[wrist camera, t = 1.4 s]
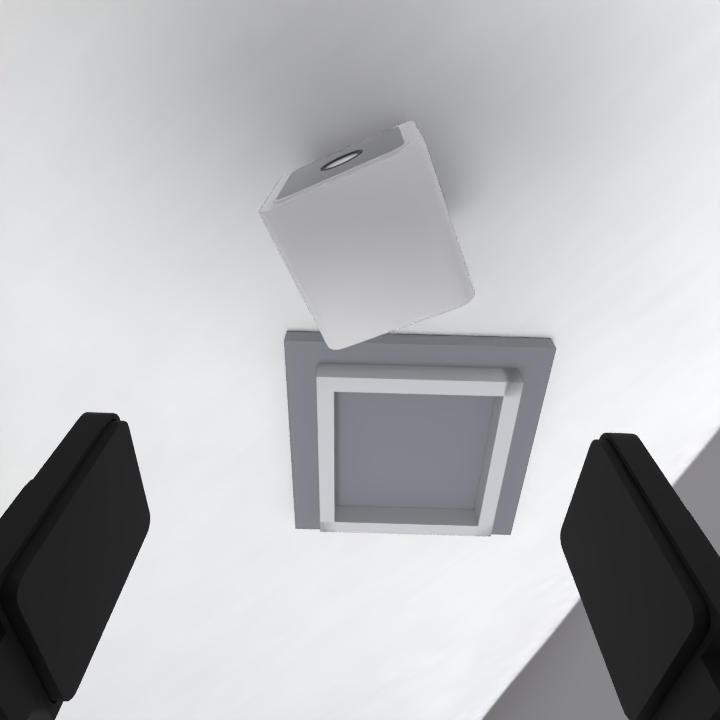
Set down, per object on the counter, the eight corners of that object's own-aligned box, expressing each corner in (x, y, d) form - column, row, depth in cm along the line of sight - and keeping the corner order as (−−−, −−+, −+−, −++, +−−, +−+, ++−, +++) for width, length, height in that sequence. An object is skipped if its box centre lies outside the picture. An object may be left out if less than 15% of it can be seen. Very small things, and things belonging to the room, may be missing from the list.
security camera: (407, 107, 26) (425, 140, 17) (450, 237, 29) (484, 319, 20) (290, 159, 27) (253, 214, 19) (345, 278, 30) (335, 371, 22)
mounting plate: (286, 331, 32) (280, 353, 30) (550, 338, 32) (564, 361, 30) (297, 516, 40) (292, 545, 38) (506, 522, 40) (515, 551, 38)
